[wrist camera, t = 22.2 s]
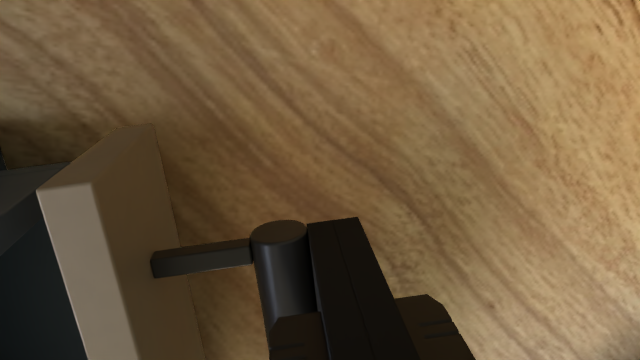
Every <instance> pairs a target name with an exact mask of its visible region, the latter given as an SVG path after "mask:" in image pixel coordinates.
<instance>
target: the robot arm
mask: <svg viewBox="0 0 640 360" xmlns="http://www.w3.org/2000/svg"><path fill="white" fill-rule="evenodd" d="M307 231H308V239H309V246H310V254H311V262H312V270H313V278H314V286H315V294H316V302H317V310H318V312H312V313H305V314H298V315H291V316H284V317H278V318H277V320H276V322H275V323H274V325H273V327H272V328H271V330H270V332H269V350H270V351H269V360H476V359H475V358H474V356H473V354H472V353H471V351H470V349H469V348H468V346H467V344H466V343H465V341H464V339H463V337H462V336H461V334H459V331H458V329H457V327H456V326H455V324H454V322H452V319H451V317H450V316H449V314H448V312H447V311H446V309H445V307H444V306H443V305H442V304H441V303H440V302H438V301H437V300H435V299H434V298H432V297H431V296H429V295H428V294H424V295H417V296H410V297H403V298H397V299H394V298H393V295H392V293H391V291H390V289H389V286H388V284H387V282H386V280H385V277H384V275H383V273H382V270H381V268H380V266H379V264H378V261H377V259H376V257H375V254H374V252H373V250H372V248H371V245H370V243H369V241H368V238H367V236H366V234H365V232H364V229H363V227H362V225H361V223H360V220H359V218H358V217H352V218H345V219H338V220H330V221H323V222H316V223H308V224H307Z"/></svg>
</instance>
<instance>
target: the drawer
mask: <svg viewBox="0 0 640 360" xmlns="http://www.w3.org/2000/svg"><path fill="white" fill-rule="evenodd" d="M253 261H254V267H255V273H256V279H257V284H258V290H259V296H260V302H261V308H262V314H263V320H264V325H265V331H266V337H267V343H268V349H269V332H270V330H271V328H272V327H273V325H274V323H275V322H276V320H277V318H278V317H284V316H291V315H298V314H305V313H312V312H318V310H317V302H316V294H315V286H314V278H313V270H312V262H311V254H310V246H309V239H308V231H307V228H306V226H305V225H304V224H303V223H301V222H299V221H295V220H278V221H272V222H268V223H265V224H263V225H260V226H258V227H257V228H255V229H254V230H253V231H252V232H251V234H250V238H244V239H237V240H230V241H223V242H216V243H209V244H202V245H195V246H188V247H180V242H179V237H178V233H177V228H176V224H175V219H174V215H173V210H172V206H171V201H170V197H169V192H168V188H167V183H166V179H165V174H164V170H163V165H162V161H161V156H160V152H159V147H158V143H157V138H156V134H155V129H154V125H153V124H151V123H149V124H141V125H134V126H126V127H118V128H116V129H114V130H113V131H112V132H110V133H109V134H108V135H107V136H105V137H104V138H103V139H101V140H100V141H99V142H97V143H96V144H95V145H93V146H92V147H91V148H90V149H88V150H87V151H86V152H84V153H83V154H82V155H80V156H79V157H78V158H77V159H75V160H74V161H73V162H63V163H56V164H48V165H40V166H33V167H25V168H17V169H10V170H2V171H0V360H205V355H204V350H203V346H202V341H201V337H200V332H199V328H198V323H197V319H196V314H195V310H194V305H193V301H192V296H191V292H190V287H189V283H188V278H187V274H192V273H199V272H206V271H213V270H220V269H227V268H234V267H241V266H247V265H252V264H253ZM269 351H270V350H269Z"/></svg>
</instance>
